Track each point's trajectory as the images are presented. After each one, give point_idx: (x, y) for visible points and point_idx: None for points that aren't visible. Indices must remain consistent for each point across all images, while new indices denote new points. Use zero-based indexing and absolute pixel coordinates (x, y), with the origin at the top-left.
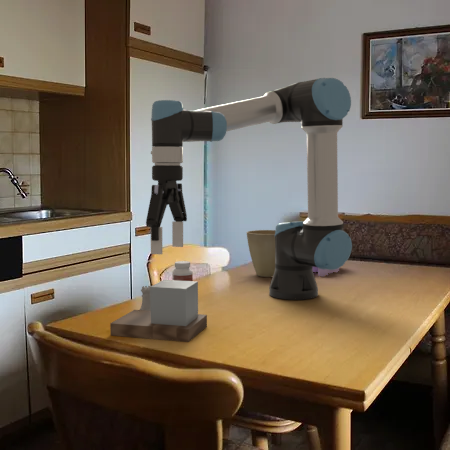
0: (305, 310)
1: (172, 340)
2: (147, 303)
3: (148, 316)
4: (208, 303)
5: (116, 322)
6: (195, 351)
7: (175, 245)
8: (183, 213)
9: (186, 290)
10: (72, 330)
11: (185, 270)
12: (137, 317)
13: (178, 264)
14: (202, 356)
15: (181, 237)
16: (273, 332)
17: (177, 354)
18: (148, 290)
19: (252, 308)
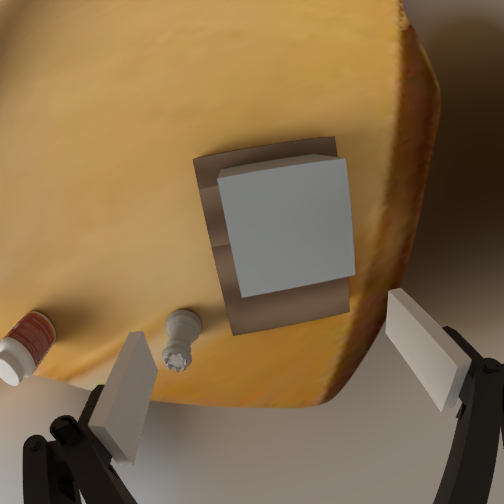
0: (6, 59)
1: None
2: (188, 333)
3: None
4: (38, 261)
5: (340, 306)
6: (370, 100)
7: (152, 362)
8: (51, 466)
9: (336, 158)
10: (333, 367)
11: (14, 352)
12: (290, 293)
13: (18, 374)
14: (388, 79)
15: (131, 363)
16: (178, 13)
17: (397, 125)
18: (183, 350)
19: (24, 154)
